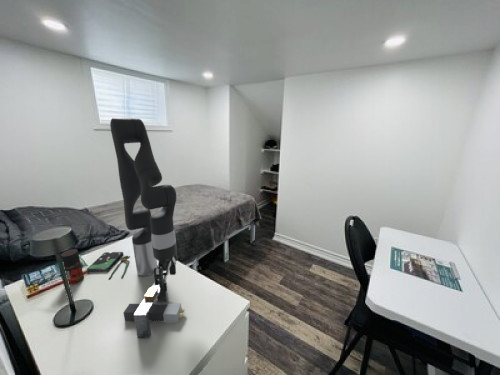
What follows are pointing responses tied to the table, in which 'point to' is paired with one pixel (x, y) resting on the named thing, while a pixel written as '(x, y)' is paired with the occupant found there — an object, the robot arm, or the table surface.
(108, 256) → the disk drive
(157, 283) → the robot arm
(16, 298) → the table surface
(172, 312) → the grey two-tone block
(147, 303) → the u-shaped bracket
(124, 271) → the pliers
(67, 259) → the deodorant
